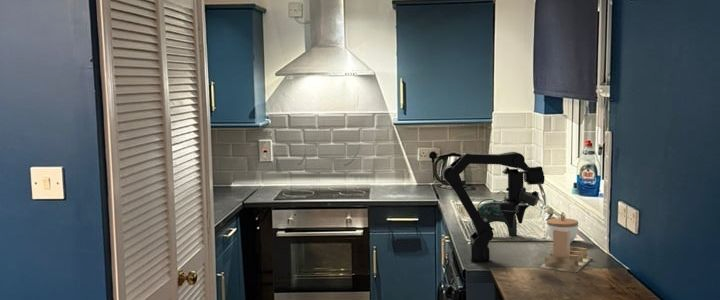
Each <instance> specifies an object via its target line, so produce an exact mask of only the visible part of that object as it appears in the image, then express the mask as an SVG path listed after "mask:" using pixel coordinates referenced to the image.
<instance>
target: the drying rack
mask: <svg viewBox="0 0 720 300" xmlns="http://www.w3.org/2000/svg"><path fill="white" fill-rule="evenodd" d="M592 258H593V257H591V256H588V248H587V247H585V248H584V247H578V246H570V259H567V258H558V257H553V251H552V252H550V253H549V255H547V256H544V263H542V264H541V265H540V266H539V268H540V269H545V270H546V269H547V270H554V271H560V272H570V273H576V272H577V273H578V272H579V271H580V270H581V269H582V268H584V267H585V266H586V265H587V264H588V263H589V262H590V261H591V260H592Z"/></svg>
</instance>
